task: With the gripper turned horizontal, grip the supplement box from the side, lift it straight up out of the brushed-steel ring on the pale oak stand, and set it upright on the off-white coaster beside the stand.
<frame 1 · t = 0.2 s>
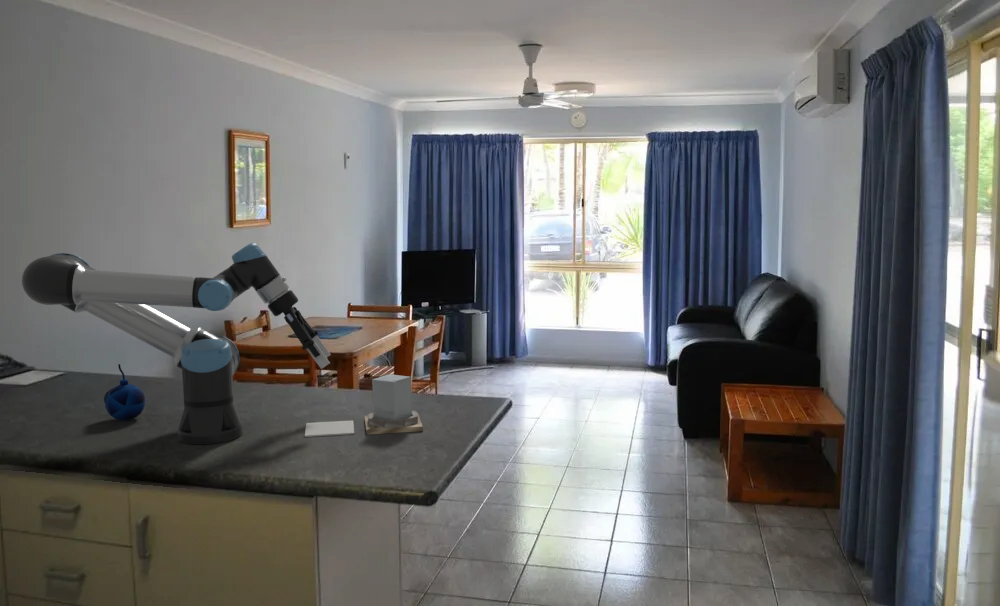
hand: (326, 361, 228), 15 cm above the worktop, tool tilted 35°, fingers open, 13 cm apart
bomb: (125, 420, 229), on the worktop
coaster: (329, 429, 218), on the worktop
supplement box: (393, 426, 220), resting in ring stand
ring stand: (393, 425, 220), on the worktop
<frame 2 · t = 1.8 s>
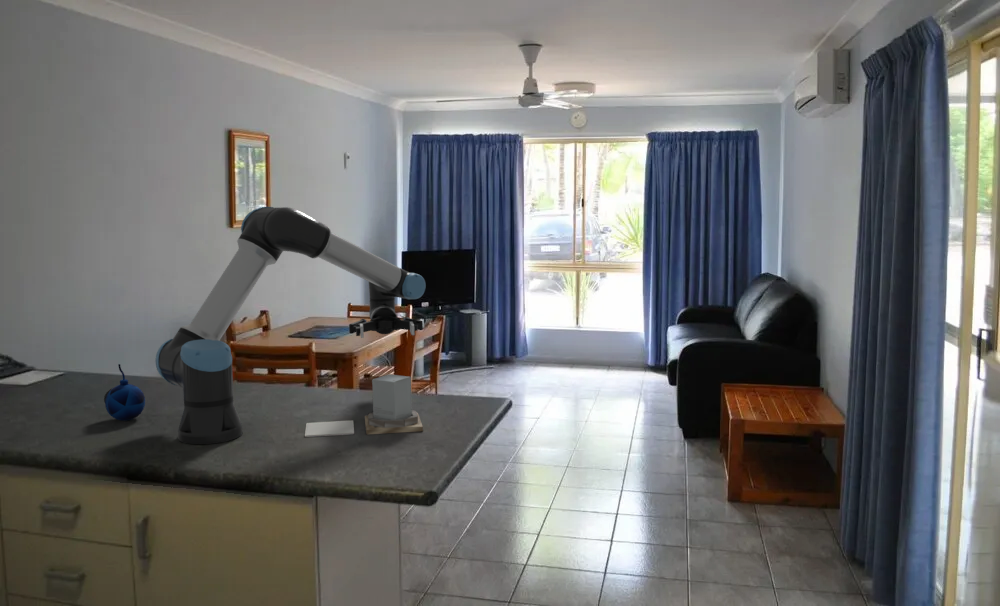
hand: (387, 331, 230), 23 cm above the worktop, tool horizontal, fingers open, 13 cm apart
nothing on the worktop moved.
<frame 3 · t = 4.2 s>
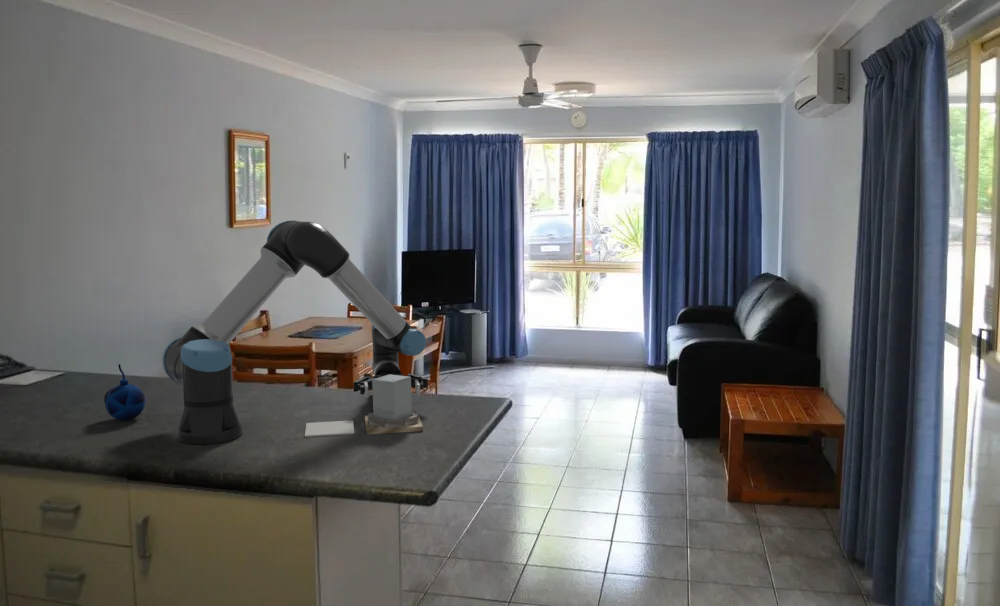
hand: (393, 391, 225), 8 cm above the worktop, tool horizontal, fingers open, 13 cm apart
nothing on the worktop moved.
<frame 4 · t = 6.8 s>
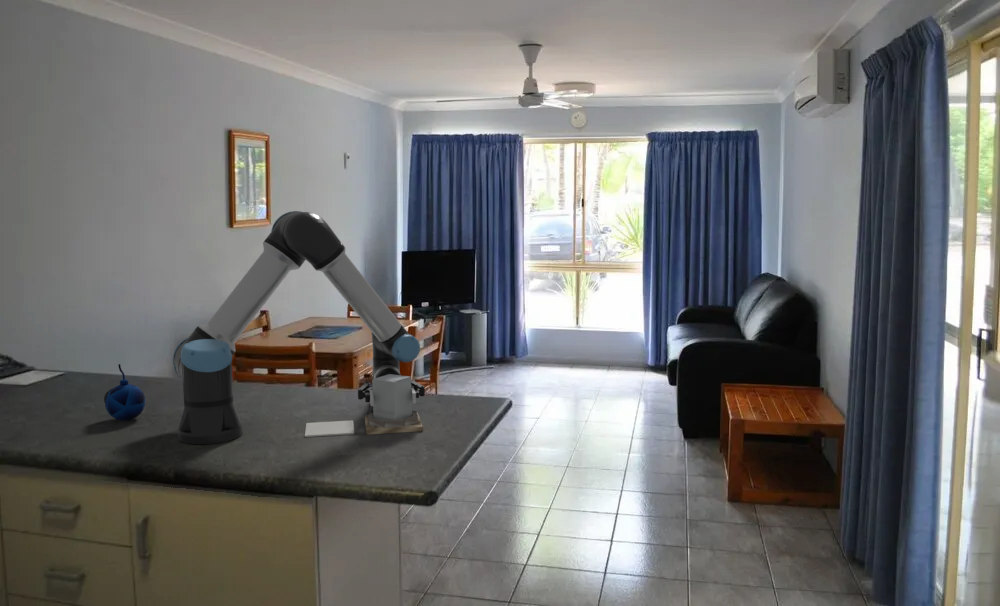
hand: (393, 399, 215), 8 cm above the worktop, tool horizontal, fingers closed on supplement box, 10 cm apart
supplement box: (393, 426, 221), resting in ring stand, touching gripper
everything else where it was.
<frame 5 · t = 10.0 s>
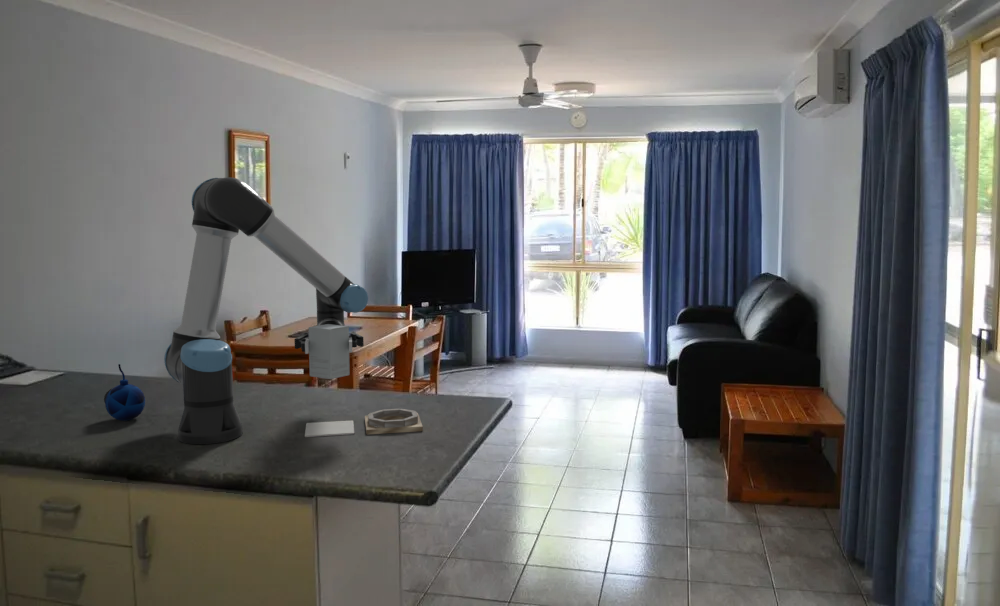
hand: (328, 347, 211), 22 cm above the worktop, tool horizontal, fingers closed on supplement box, 10 cm apart
supplement box: (329, 376, 216), point 14 cm above the worktop, touching gripper
everything else where it was.
when the fingers open (9 cm above the worktop, at t = 13.4 s): supplement box drops 1 cm, resting on coaster.
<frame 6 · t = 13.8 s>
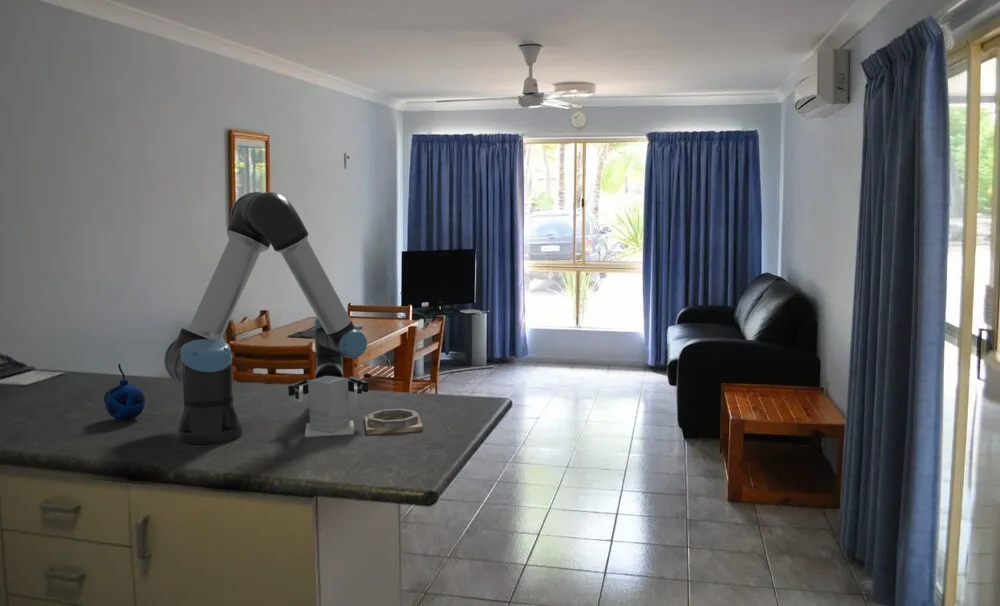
hand: (328, 395, 213), 9 cm above the worktop, tool horizontal, fingers open, 13 cm apart
supplement box: (329, 428, 218), resting on coaster
everything else where it was.
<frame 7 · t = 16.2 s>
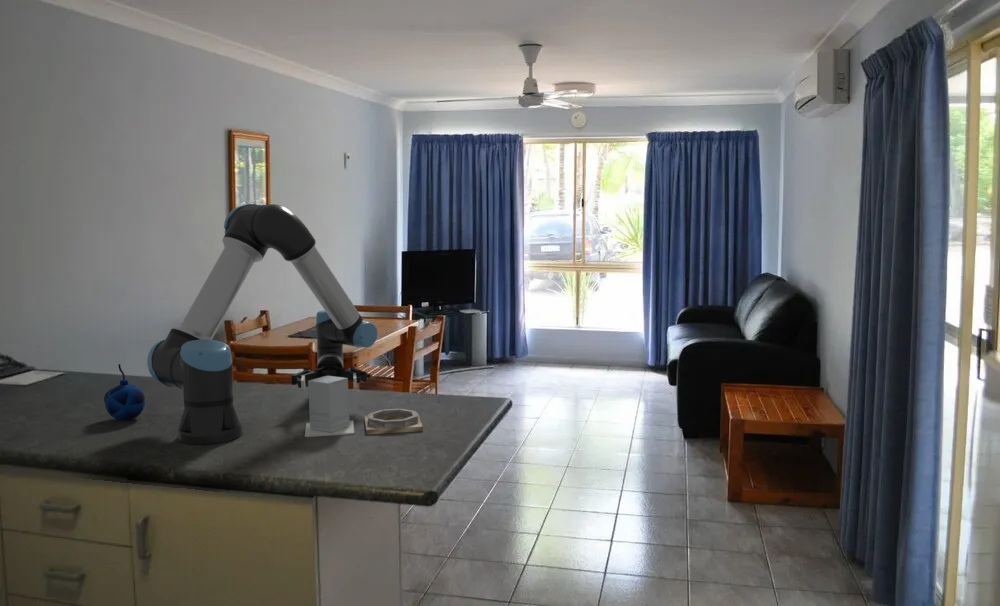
hand: (329, 384, 226), 10 cm above the worktop, tool horizontal, fingers open, 13 cm apart
nothing on the worktop moved.
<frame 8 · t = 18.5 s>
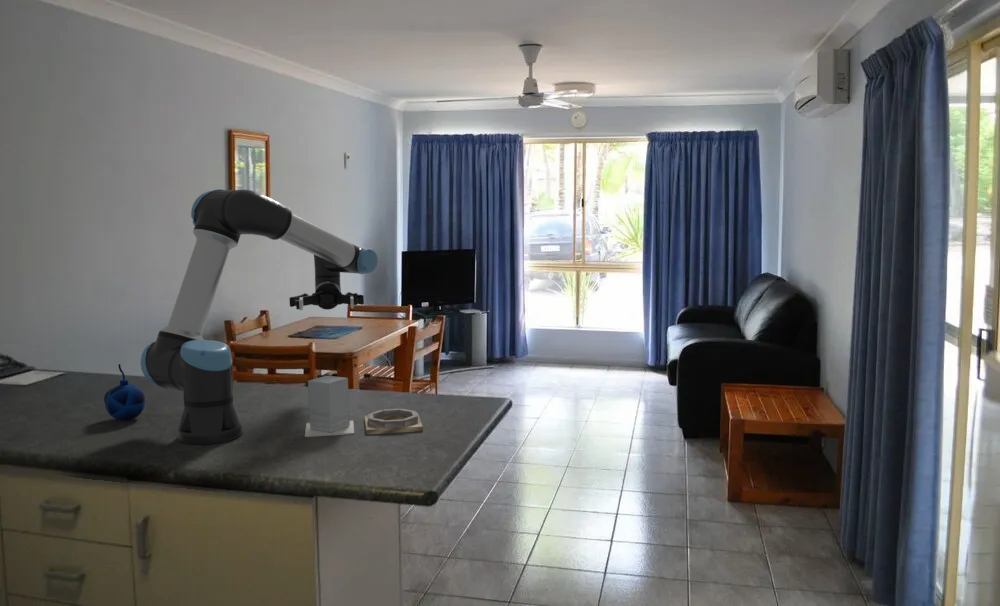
hand: (326, 304, 230), 30 cm above the worktop, tool horizontal, fingers open, 13 cm apart
nothing on the worktop moved.
at the end: supplement box inside the target area (0.1 cm from its centre), resting on coaster; supplement box tilted 0°; the gripper is holding nothing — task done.
